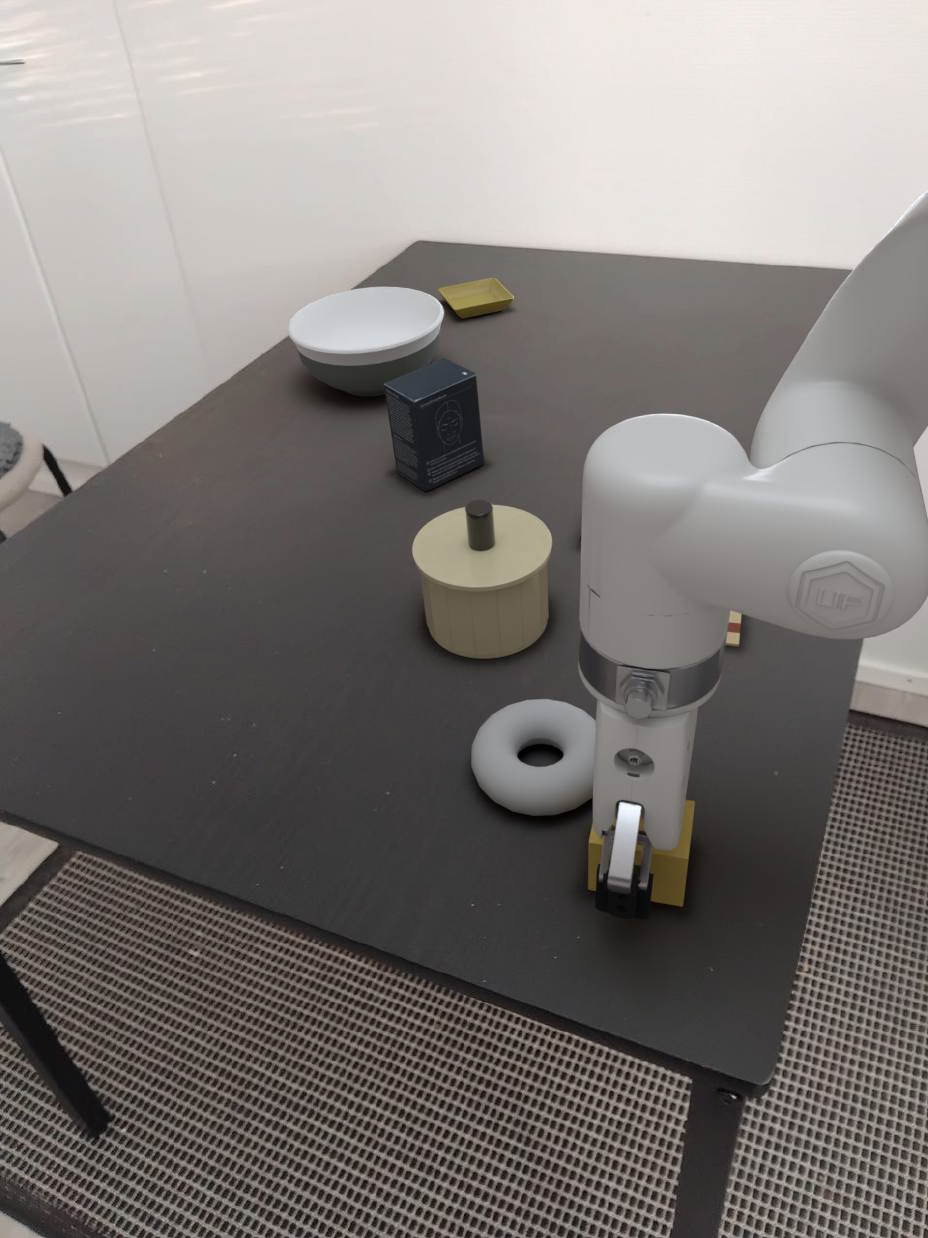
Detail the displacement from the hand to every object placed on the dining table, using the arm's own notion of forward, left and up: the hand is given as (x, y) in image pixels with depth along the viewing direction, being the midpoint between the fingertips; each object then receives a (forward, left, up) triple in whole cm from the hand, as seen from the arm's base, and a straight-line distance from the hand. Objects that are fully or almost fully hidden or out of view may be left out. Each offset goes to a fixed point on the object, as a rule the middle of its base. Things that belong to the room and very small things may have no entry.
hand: (632, 846), depth 62 cm
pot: (+15, -23, -2) cm, 28 cm away
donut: (+7, -7, -3) cm, 11 cm away
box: (+26, -46, -3) cm, 53 cm away
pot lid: (+15, -23, +5) cm, 28 cm away
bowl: (+40, -65, -3) cm, 77 cm away
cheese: (-1, 0, -2) cm, 2 cm away
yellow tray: (+33, -88, -3) cm, 94 cm away
